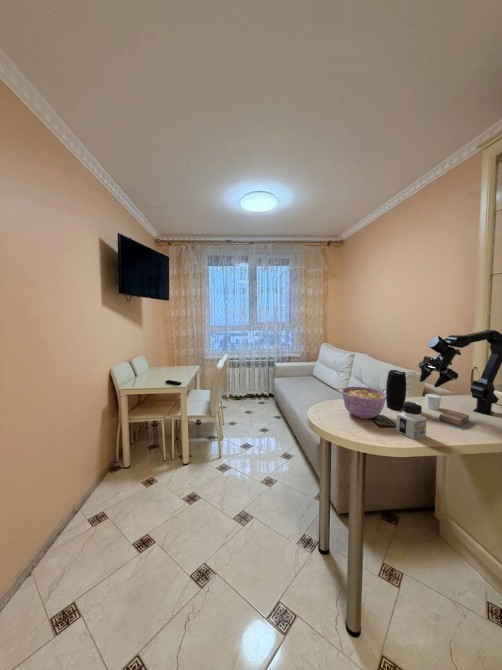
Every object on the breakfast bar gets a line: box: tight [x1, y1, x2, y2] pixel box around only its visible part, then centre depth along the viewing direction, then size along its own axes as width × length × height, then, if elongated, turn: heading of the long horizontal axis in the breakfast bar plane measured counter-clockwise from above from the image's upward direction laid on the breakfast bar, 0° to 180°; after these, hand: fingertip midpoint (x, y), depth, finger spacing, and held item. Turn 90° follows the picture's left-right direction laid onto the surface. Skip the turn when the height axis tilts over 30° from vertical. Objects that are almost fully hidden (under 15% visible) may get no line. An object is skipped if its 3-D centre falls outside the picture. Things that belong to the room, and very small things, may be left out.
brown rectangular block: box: [438, 409, 470, 427], centre depth 116 cm, size 11×7×3 cm
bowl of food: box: [341, 386, 387, 419], centre depth 123 cm, size 20×20×12 cm
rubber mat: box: [431, 415, 477, 431], centre depth 116 cm, size 15×12×1 cm
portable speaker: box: [385, 369, 407, 411], centre depth 133 cm, size 9×9×20 cm
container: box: [395, 401, 428, 440], centre depth 104 cm, size 8×8×13 cm
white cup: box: [424, 393, 442, 411], centre depth 133 cm, size 7×7×7 cm
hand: (427, 384), depth 125 cm, fingers open, 9 cm apart
